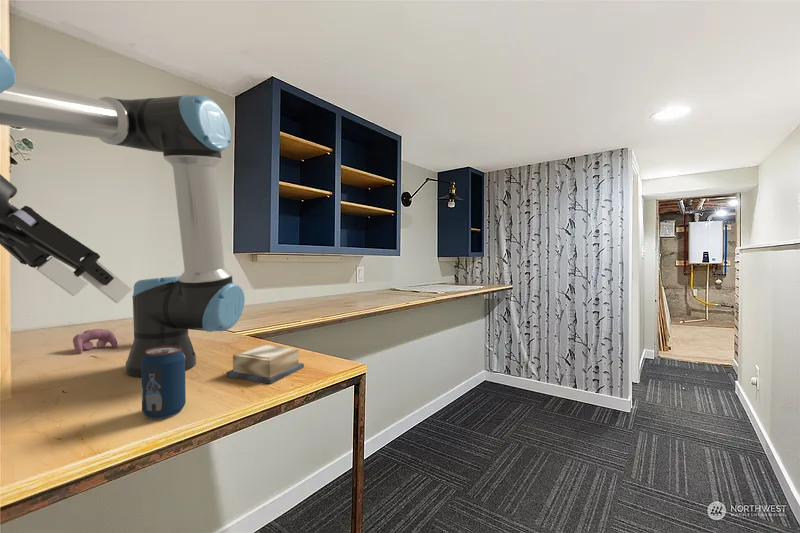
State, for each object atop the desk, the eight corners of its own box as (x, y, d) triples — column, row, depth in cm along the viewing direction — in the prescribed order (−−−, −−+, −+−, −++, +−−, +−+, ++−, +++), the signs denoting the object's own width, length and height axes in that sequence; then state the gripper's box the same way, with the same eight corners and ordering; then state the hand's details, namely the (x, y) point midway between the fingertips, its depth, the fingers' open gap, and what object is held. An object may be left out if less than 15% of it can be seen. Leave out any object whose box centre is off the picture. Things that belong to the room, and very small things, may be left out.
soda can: (183, 401, 75) (183, 343, 75) (187, 415, 70) (186, 351, 69) (142, 409, 71) (141, 347, 71) (142, 424, 66) (141, 357, 65)
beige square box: (226, 376, 90) (226, 354, 90) (263, 361, 103) (263, 342, 102) (270, 384, 86) (270, 361, 86) (303, 367, 98) (304, 347, 98)
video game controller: (114, 350, 115) (110, 328, 116) (119, 346, 112) (115, 324, 114) (73, 357, 107) (69, 334, 108) (77, 353, 104) (73, 329, 106)
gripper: (-103, 205, 50) (45, 304, 64) (-41, 196, 38) (124, 319, 52) (-44, 172, 54) (83, 271, 68) (28, 156, 43) (163, 279, 57)
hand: (101, 292), depth 60 cm, fingers open, 13 cm apart
